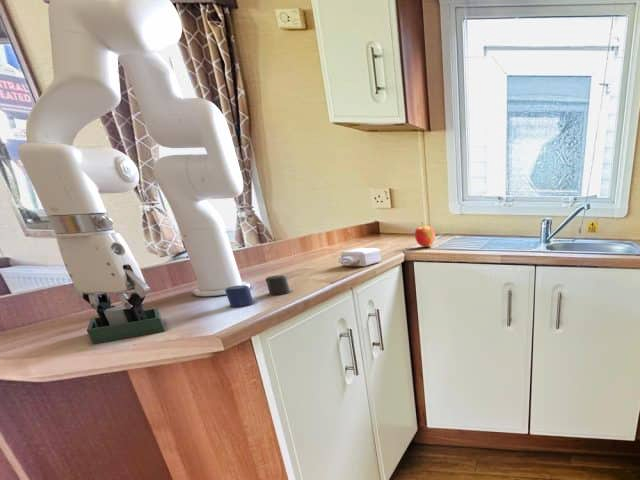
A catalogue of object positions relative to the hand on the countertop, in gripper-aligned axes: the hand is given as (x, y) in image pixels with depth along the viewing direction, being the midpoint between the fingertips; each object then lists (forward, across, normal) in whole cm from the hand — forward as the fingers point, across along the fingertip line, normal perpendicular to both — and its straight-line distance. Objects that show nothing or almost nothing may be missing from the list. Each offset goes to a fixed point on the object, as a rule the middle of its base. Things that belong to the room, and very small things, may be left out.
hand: (127, 327), depth 80 cm
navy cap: (+1, -9, -19) cm, 21 cm away
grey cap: (0, 0, 0) cm, 0 cm away
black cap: (+1, -11, -31) cm, 33 cm away
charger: (+1, -15, -69) cm, 70 cm away
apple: (0, -26, -113) cm, 116 cm away
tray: (+1, 0, 0) cm, 1 cm away
